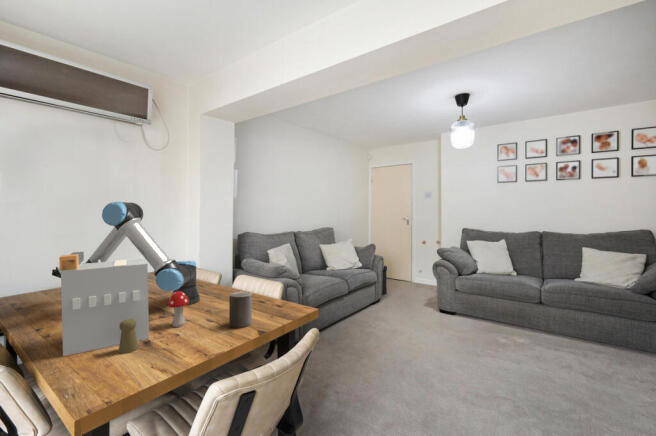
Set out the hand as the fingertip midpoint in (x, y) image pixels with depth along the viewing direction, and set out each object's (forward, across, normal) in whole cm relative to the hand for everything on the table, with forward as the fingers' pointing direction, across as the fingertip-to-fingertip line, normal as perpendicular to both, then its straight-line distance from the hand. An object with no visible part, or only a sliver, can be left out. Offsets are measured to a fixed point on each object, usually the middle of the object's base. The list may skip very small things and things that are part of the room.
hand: (79, 263), depth 131 cm
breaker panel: (+5, +12, +35) cm, 37 cm away
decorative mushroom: (+4, +37, +34) cm, 50 cm away
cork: (+18, +18, +43) cm, 50 cm away
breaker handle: (+16, 0, +6) cm, 17 cm away
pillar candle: (+16, +60, +41) cm, 75 cm away
